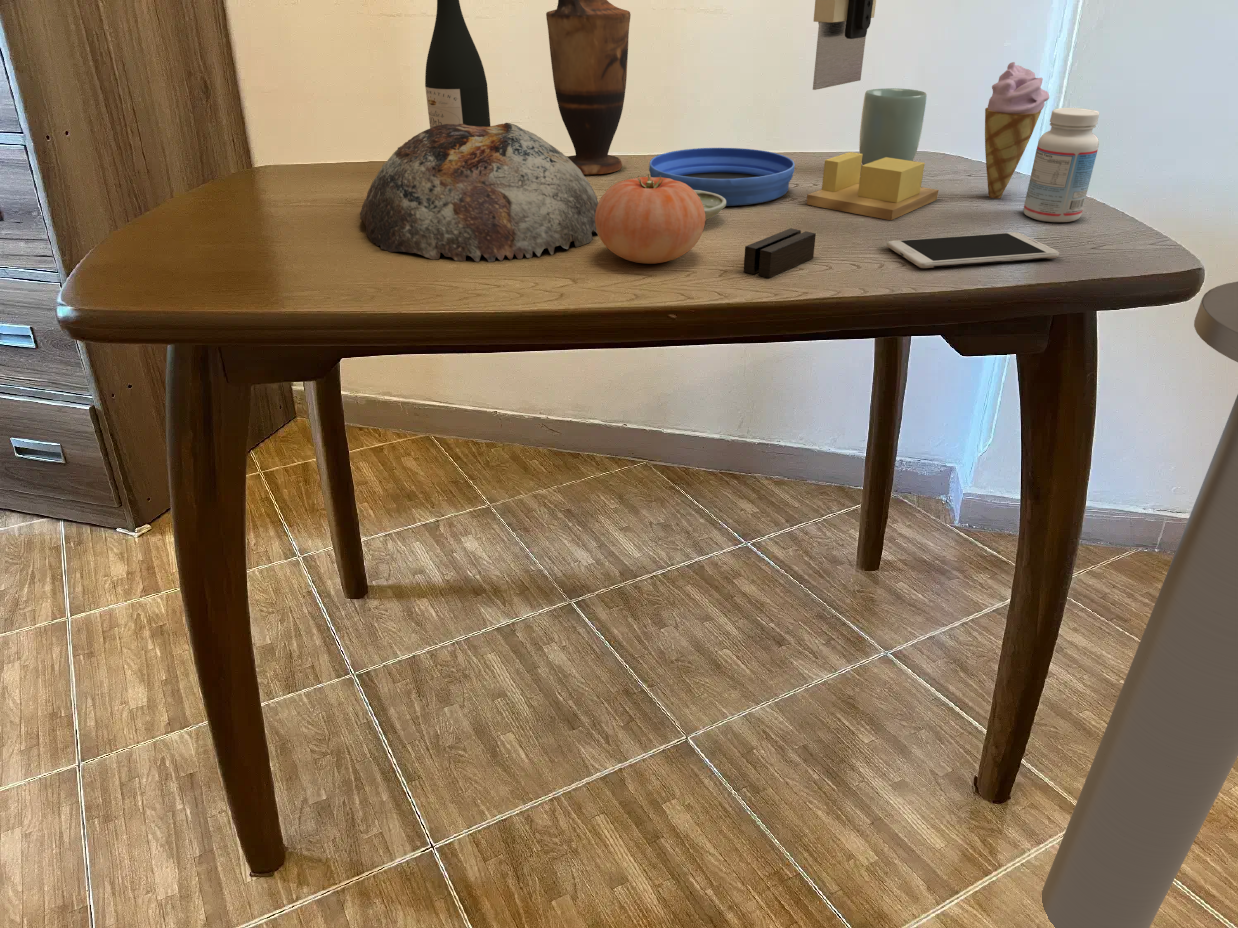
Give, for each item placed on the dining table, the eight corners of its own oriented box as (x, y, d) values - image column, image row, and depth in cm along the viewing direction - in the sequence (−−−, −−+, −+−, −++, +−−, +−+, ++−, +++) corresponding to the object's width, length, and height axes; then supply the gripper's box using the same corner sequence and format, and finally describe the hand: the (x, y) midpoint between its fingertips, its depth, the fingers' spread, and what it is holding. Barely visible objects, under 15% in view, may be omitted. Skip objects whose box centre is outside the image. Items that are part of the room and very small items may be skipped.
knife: (868, 81, 92) (880, -11, 88) (823, 91, 86) (833, -7, 82) (850, 79, 93) (860, -11, 89) (804, 89, 88) (812, -8, 83)
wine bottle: (455, 184, 115) (428, -85, 99) (424, 174, 120) (393, -83, 104) (505, 174, 119) (486, -85, 104) (473, 165, 124) (450, -83, 109)
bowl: (722, 168, 122) (723, 141, 120) (821, 192, 109) (825, 163, 107) (620, 188, 112) (619, 159, 110) (716, 217, 100) (717, 186, 98)
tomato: (726, 262, 86) (730, 179, 82) (636, 283, 81) (636, 196, 77) (660, 236, 94) (662, 159, 90) (575, 254, 88) (572, 173, 84)
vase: (592, 157, 129) (586, -83, 113) (646, 168, 122) (648, -85, 107) (536, 169, 122) (523, -84, 107) (591, 181, 115) (585, -87, 100)
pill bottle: (1066, 209, 102) (1092, 106, 96) (1089, 224, 96) (1118, 115, 91) (1013, 209, 102) (1036, 106, 96) (1033, 224, 97) (1059, 116, 91)
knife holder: (813, 258, 87) (816, 233, 86) (768, 278, 82) (770, 252, 80) (788, 252, 88) (790, 228, 87) (743, 272, 83) (744, 246, 82)
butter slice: (859, 183, 109) (862, 153, 107) (834, 192, 105) (838, 162, 103) (846, 181, 110) (849, 152, 108) (821, 190, 106) (824, 160, 104)
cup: (895, 163, 123) (906, 87, 118) (925, 175, 117) (939, 95, 112) (845, 167, 122) (854, 90, 116) (873, 179, 115) (884, 98, 110)
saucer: (671, 237, 93) (672, 214, 92) (623, 217, 100) (623, 195, 99) (742, 223, 98) (744, 202, 96) (692, 205, 105) (692, 184, 103)
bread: (561, 178, 117) (557, 98, 112) (643, 245, 91) (644, 145, 86) (351, 196, 110) (337, 111, 105) (375, 275, 83) (358, 167, 78)
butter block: (920, 193, 104) (925, 162, 102) (896, 203, 100) (901, 171, 98) (881, 186, 107) (885, 157, 105) (857, 196, 103) (861, 165, 101)
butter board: (937, 200, 106) (938, 189, 105) (891, 220, 98) (892, 209, 98) (855, 186, 112) (856, 176, 112) (806, 204, 105) (807, 194, 104)
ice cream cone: (989, 188, 111) (1016, 58, 103) (1035, 197, 107) (1067, 63, 99) (959, 196, 107) (984, 62, 100) (1005, 206, 103) (1035, 67, 95)
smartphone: (884, 240, 89) (1018, 231, 91) (883, 246, 89) (1016, 237, 92) (920, 263, 83) (1062, 252, 85) (919, 269, 83) (1061, 259, 85)
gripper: (768, -186, 80) (754, 36, 90) (932, -206, 71) (898, 44, 80) (812, -180, 85) (794, 31, 95) (971, -197, 76) (935, 38, 85)
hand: (842, 35), depth 87 cm, fingers closed on knife, 2 cm apart
